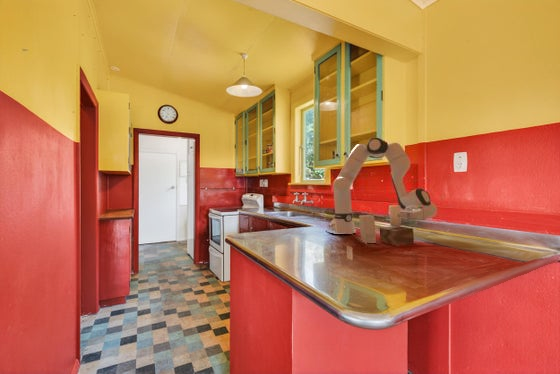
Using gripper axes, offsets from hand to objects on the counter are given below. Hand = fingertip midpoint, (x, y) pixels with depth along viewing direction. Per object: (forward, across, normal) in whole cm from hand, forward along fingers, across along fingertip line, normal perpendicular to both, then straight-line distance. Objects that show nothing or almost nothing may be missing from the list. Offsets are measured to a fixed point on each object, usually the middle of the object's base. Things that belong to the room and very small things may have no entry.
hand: (393, 214), depth 140 cm
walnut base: (-1, 0, +16) cm, 16 cm away
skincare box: (+12, -8, +16) cm, 21 cm away
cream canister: (-1, 0, +6) cm, 6 cm away
